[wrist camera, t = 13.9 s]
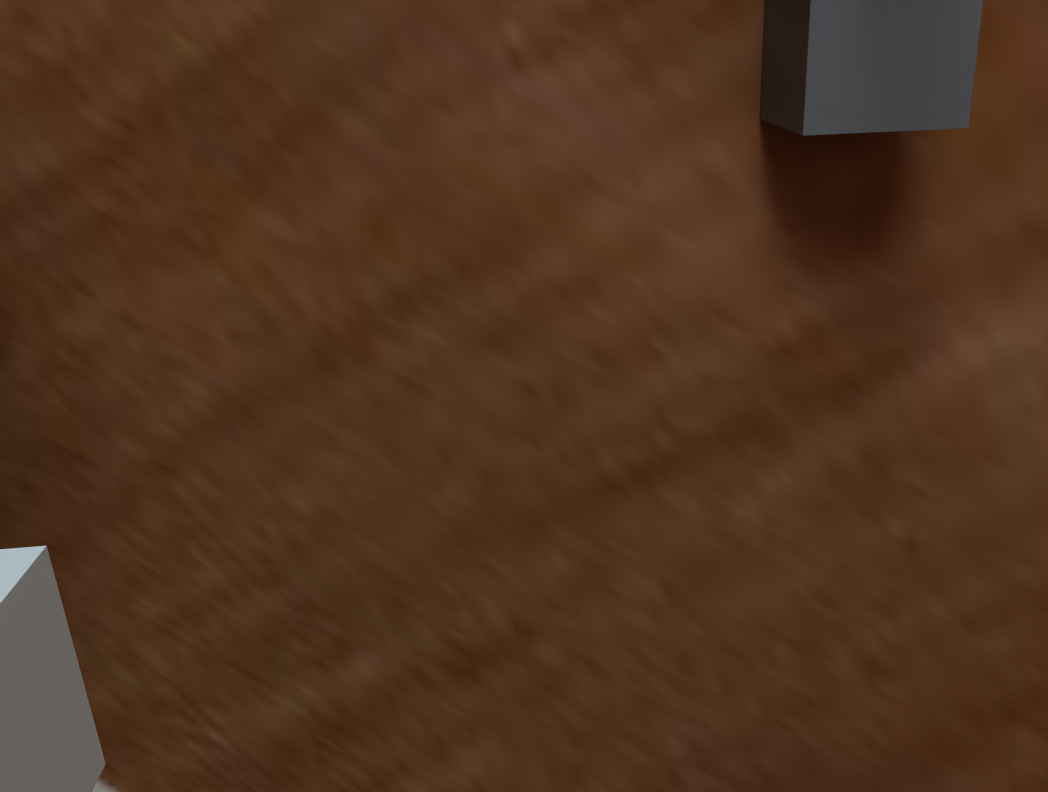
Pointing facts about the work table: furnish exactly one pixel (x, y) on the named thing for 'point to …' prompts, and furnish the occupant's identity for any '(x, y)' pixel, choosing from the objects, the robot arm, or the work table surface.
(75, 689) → the robot arm
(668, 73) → the work table surface
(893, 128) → the grey block
